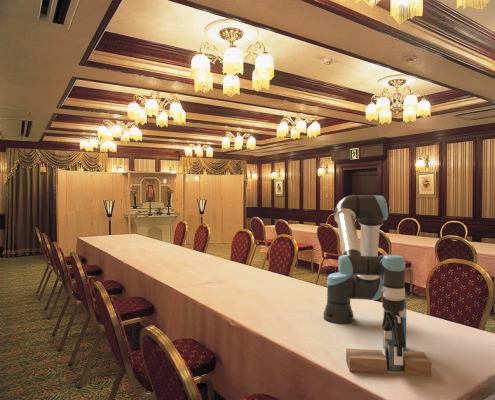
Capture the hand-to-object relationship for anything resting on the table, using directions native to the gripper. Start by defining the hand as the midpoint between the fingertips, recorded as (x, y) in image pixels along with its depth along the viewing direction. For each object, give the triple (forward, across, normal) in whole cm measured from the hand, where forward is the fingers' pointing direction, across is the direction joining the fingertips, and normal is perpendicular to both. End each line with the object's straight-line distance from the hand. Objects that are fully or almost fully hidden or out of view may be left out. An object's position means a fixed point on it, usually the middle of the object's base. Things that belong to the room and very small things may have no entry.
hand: (392, 356), depth 132 cm
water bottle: (+5, -19, +6) cm, 21 cm away
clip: (+4, 0, 0) cm, 4 cm away
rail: (+5, 0, -2) cm, 5 cm away
